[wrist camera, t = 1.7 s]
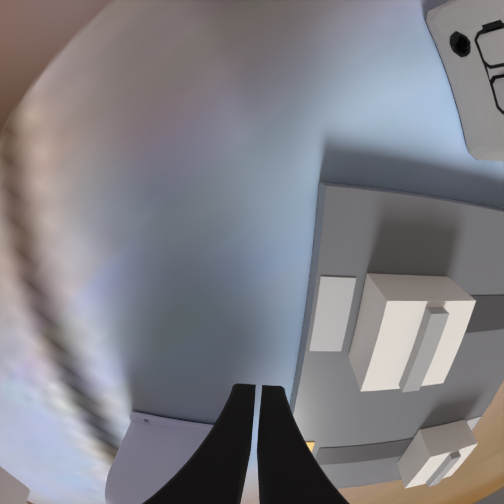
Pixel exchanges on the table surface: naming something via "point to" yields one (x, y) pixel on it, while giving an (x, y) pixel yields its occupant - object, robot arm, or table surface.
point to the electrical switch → (474, 69)
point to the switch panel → (346, 314)
